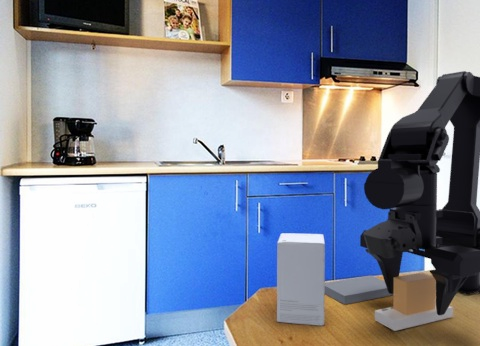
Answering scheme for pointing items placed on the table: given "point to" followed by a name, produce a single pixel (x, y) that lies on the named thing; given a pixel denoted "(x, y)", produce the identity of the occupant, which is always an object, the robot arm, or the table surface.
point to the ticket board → (356, 289)
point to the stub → (412, 303)
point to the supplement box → (301, 278)
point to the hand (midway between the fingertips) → (414, 303)
